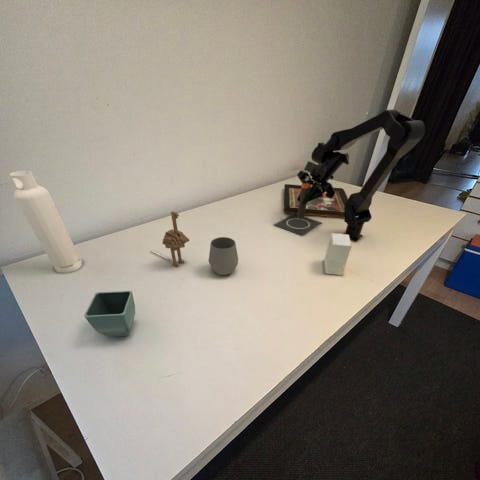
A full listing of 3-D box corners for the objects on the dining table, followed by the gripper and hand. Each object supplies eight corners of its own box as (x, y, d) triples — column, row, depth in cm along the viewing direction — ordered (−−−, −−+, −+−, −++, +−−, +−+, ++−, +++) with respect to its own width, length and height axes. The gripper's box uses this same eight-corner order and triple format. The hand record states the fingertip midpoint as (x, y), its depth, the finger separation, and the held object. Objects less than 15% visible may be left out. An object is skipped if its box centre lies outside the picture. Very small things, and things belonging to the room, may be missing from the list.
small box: (341, 275, 85) (352, 246, 78) (324, 273, 86) (332, 244, 79) (340, 262, 91) (349, 234, 84) (323, 260, 92) (331, 232, 84)
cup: (216, 281, 82) (214, 253, 75) (205, 267, 88) (202, 239, 81) (243, 274, 85) (243, 246, 78) (230, 260, 91) (230, 233, 84)
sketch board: (294, 214, 120) (294, 213, 120) (321, 223, 113) (321, 222, 113) (273, 225, 111) (273, 224, 111) (302, 235, 105) (302, 234, 104)
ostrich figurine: (193, 263, 89) (186, 210, 77) (178, 272, 85) (169, 217, 73) (159, 248, 96) (148, 197, 84) (145, 255, 92) (130, 203, 80)
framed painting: (362, 219, 117) (365, 212, 115) (284, 217, 116) (285, 210, 114) (340, 190, 144) (341, 184, 142) (276, 189, 144) (277, 183, 142)
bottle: (87, 262, 89) (45, 170, 69) (69, 274, 83) (18, 179, 64) (68, 257, 91) (22, 167, 71) (49, 270, 85) (-6, 175, 66)
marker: (299, 215, 112) (304, 182, 103) (305, 217, 110) (311, 184, 101) (295, 217, 110) (300, 184, 101) (301, 219, 108) (307, 186, 99)
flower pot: (107, 318, 70) (95, 291, 63) (141, 316, 70) (132, 290, 64) (98, 343, 63) (82, 316, 57) (135, 341, 64) (124, 314, 58)
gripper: (305, 146, 101) (277, 181, 105) (337, 158, 89) (304, 197, 93) (317, 167, 109) (291, 198, 113) (348, 181, 97) (317, 215, 101)
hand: (300, 201), depth 105 cm, fingers closed on marker, 3 cm apart
